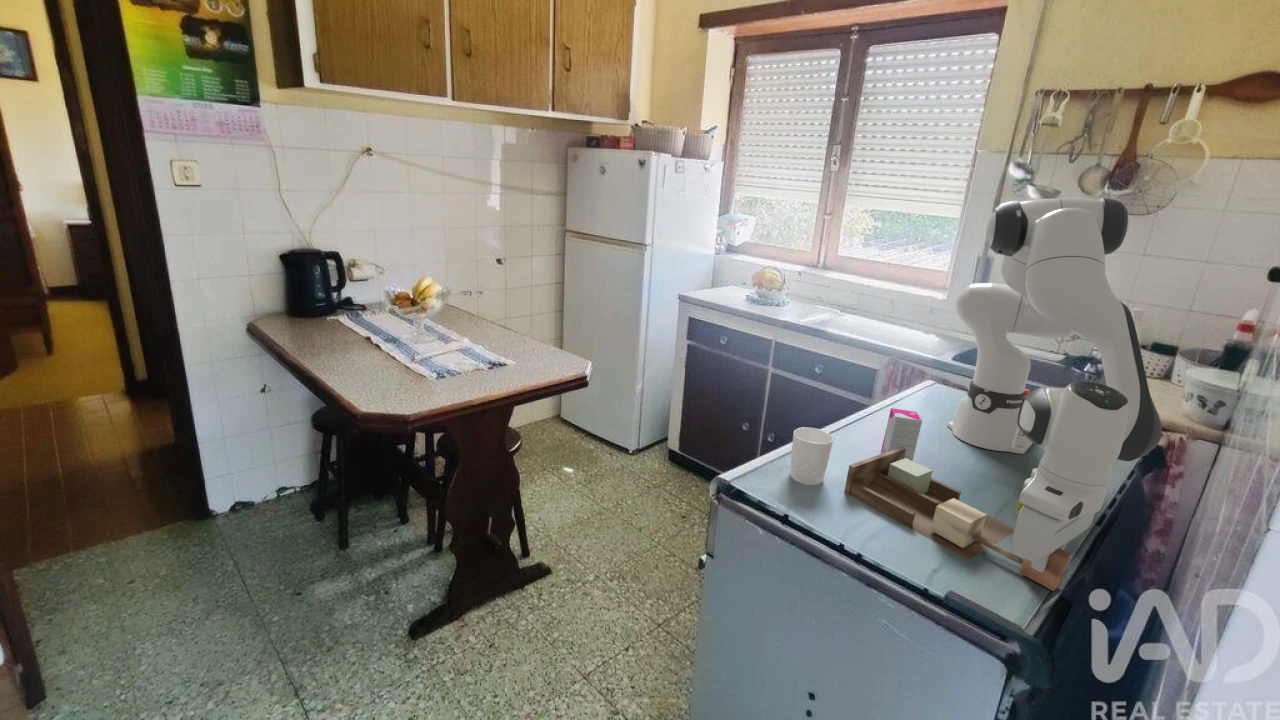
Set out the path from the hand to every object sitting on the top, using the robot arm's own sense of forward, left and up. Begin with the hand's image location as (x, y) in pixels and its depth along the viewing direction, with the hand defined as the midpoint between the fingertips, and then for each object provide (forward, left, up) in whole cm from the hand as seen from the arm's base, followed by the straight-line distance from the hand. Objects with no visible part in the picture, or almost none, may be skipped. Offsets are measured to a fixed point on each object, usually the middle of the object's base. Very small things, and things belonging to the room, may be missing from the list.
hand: (1044, 565), depth 95 cm
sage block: (-8, -29, -3) cm, 30 cm away
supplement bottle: (-21, -10, -4) cm, 24 cm away
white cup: (+7, -42, -4) cm, 43 cm away
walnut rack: (-4, -22, -4) cm, 22 cm away
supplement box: (-19, -38, -4) cm, 43 cm away
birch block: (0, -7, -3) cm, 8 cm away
